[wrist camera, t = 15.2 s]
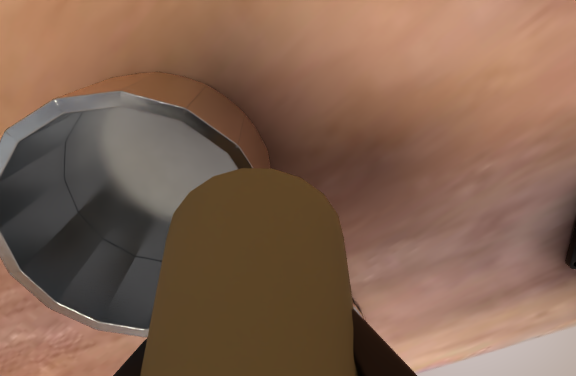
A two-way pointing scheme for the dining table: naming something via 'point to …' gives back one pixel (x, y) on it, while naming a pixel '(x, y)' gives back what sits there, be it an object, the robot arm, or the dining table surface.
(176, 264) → the cork
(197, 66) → the dining table surface
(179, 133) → the pot
